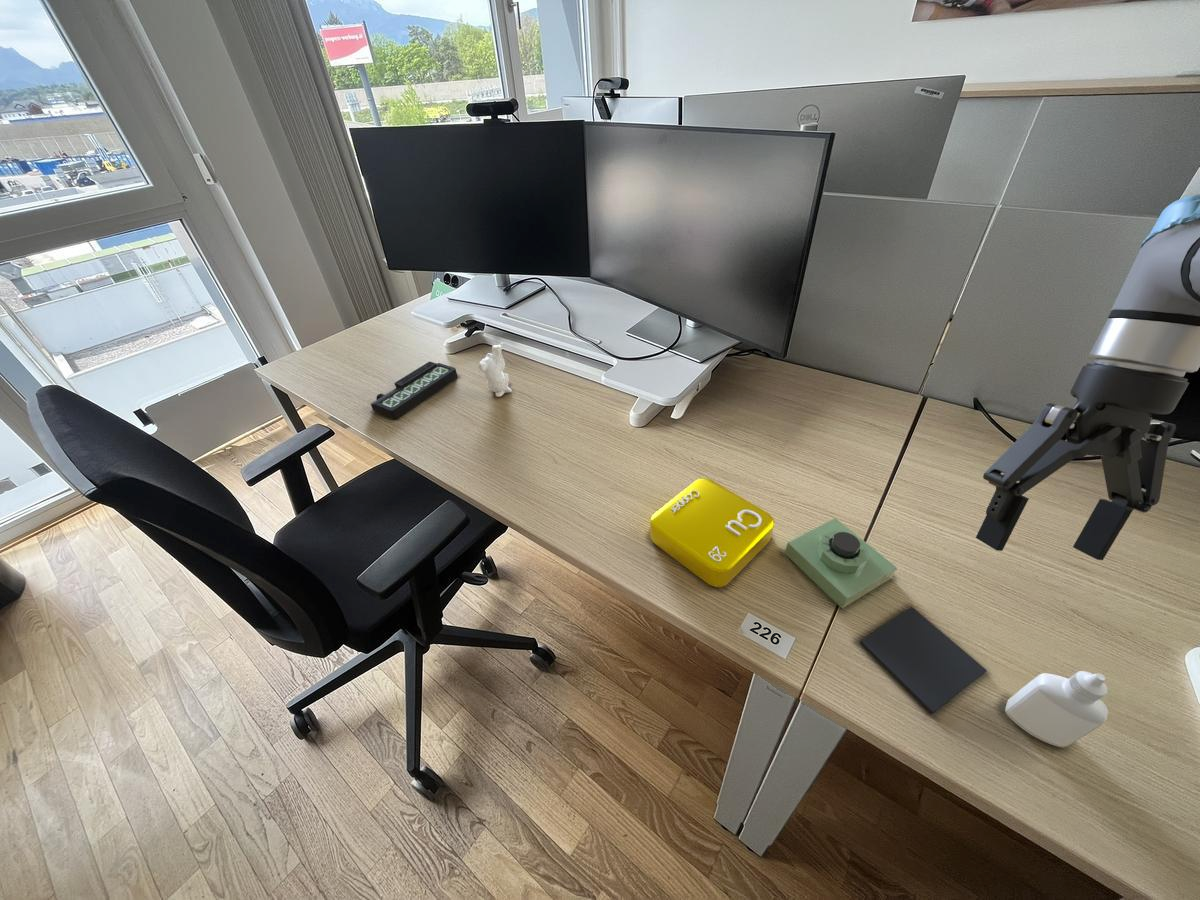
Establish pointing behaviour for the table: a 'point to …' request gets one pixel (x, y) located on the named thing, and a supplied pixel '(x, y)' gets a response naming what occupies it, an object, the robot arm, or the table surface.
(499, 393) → the koala figurine
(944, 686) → the slate mat
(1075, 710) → the eye dropper bottle
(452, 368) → the digital display
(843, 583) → the button housing
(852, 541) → the black round knob
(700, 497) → the element tile
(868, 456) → the table surface
